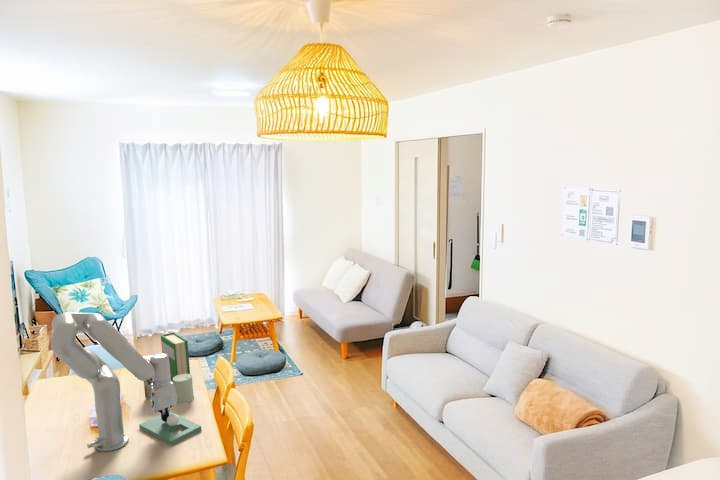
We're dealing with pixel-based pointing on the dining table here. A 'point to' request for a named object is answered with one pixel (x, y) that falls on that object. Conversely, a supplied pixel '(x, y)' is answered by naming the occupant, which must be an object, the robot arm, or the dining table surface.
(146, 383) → the coffee box
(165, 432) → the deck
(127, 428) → the dining table surface
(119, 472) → the dining table surface
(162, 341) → the hardback book
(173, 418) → the ball
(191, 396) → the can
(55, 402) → the dining table surface
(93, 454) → the dining table surface
